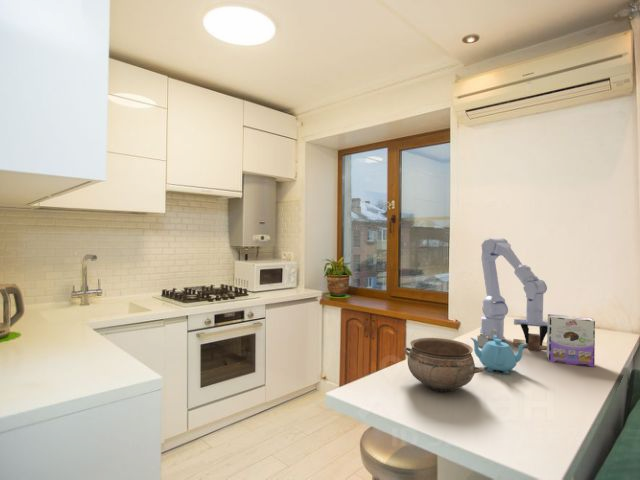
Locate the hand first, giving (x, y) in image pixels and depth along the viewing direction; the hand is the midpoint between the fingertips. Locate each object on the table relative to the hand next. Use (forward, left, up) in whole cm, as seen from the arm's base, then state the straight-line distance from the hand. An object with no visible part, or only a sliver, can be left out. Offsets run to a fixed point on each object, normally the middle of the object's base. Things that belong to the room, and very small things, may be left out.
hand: (533, 344), depth 150 cm
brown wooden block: (0, +3, -2) cm, 3 cm away
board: (+1, +5, -2) cm, 6 cm away
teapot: (-15, -31, -2) cm, 35 cm away
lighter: (-17, -5, -2) cm, 18 cm away
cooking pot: (-32, -55, -2) cm, 64 cm away
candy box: (+10, -12, -2) cm, 15 cm away
